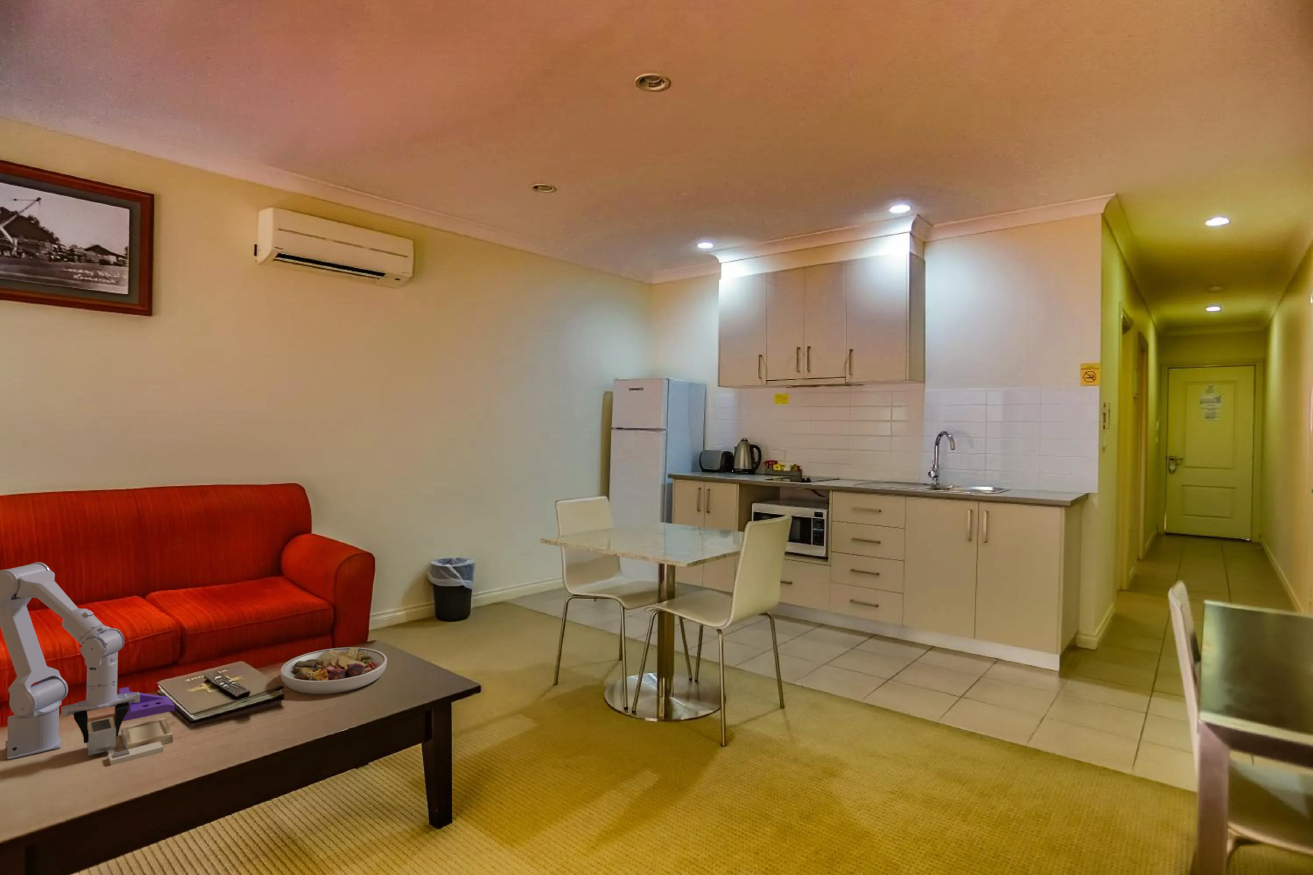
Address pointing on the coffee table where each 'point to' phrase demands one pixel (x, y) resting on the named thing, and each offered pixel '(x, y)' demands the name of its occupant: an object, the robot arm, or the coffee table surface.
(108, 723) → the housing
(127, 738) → the beige shallow tray
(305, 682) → the bowl
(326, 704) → the coffee table surface
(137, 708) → the bracket
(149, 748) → the block
